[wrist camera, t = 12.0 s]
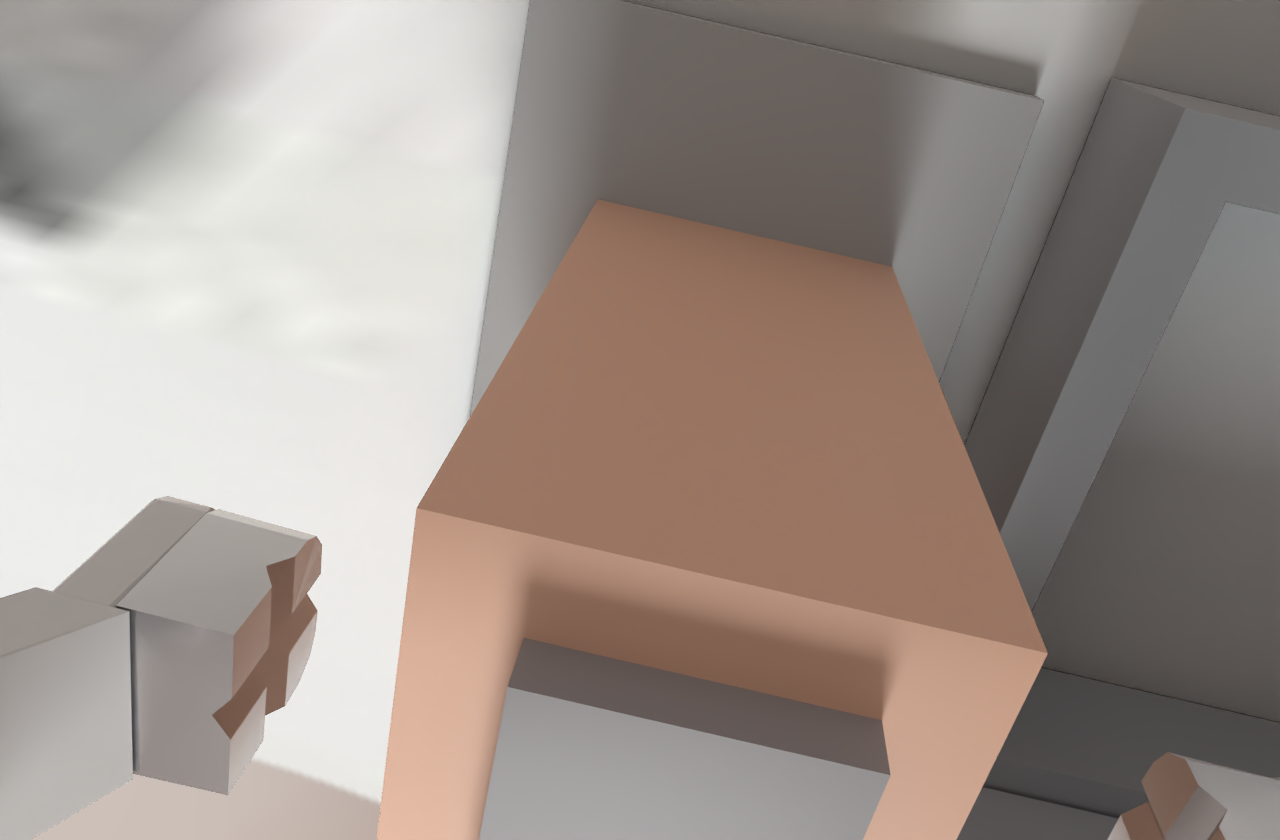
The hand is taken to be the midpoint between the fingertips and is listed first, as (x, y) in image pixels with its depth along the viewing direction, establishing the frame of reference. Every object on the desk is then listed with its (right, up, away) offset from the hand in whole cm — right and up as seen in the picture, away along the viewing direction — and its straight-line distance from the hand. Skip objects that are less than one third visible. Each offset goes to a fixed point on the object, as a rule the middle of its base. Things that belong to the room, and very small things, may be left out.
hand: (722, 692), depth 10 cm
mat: (0, +4, +9) cm, 9 cm away
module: (0, +4, +8) cm, 9 cm away
